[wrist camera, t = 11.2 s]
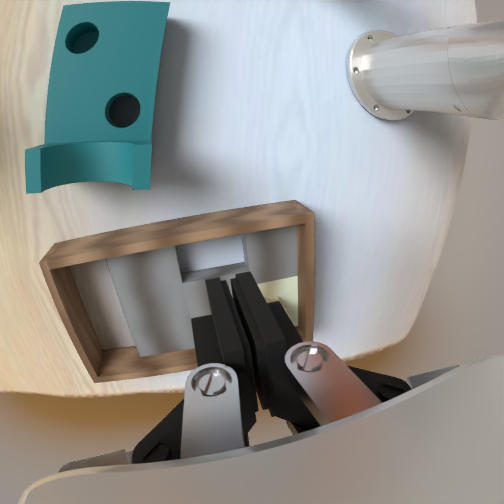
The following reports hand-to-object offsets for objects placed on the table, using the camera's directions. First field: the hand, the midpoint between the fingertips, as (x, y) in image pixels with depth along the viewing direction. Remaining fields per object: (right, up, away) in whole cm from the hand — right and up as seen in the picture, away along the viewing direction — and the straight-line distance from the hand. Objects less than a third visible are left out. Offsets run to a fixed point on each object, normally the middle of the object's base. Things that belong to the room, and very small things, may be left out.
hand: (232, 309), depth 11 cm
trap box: (-8, -2, +27) cm, 28 cm away
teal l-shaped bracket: (-15, +19, +16) cm, 29 cm away
